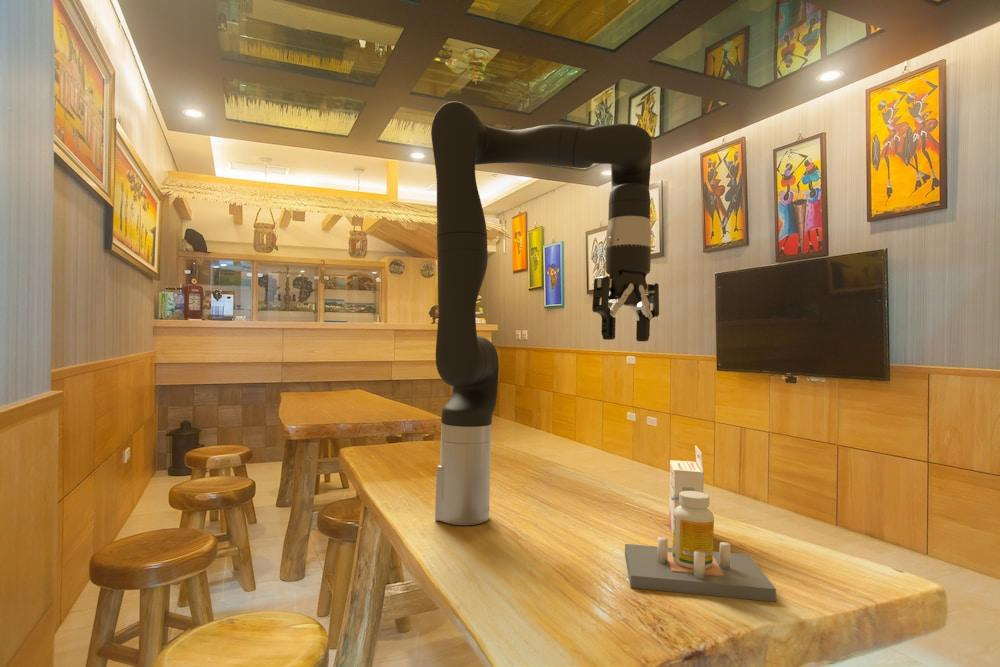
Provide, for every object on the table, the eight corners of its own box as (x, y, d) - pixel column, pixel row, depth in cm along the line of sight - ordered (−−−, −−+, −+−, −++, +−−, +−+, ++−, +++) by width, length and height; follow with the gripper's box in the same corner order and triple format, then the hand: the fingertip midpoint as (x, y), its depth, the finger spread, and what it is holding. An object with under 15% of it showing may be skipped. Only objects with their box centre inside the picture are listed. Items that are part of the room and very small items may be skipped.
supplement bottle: (664, 557, 79) (666, 490, 79) (695, 554, 81) (696, 488, 81) (689, 572, 74) (691, 500, 74) (721, 568, 75) (723, 498, 76)
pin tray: (630, 587, 73) (631, 551, 73) (624, 554, 84) (625, 522, 85) (775, 601, 70) (776, 563, 70) (748, 565, 82) (749, 532, 82)
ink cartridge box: (667, 523, 100) (669, 443, 101) (695, 526, 99) (697, 444, 100) (672, 539, 92) (674, 451, 92) (703, 542, 91) (705, 453, 91)
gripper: (616, 237, 87) (613, 339, 87) (672, 249, 96) (670, 342, 95) (583, 244, 93) (580, 339, 93) (638, 254, 102) (636, 341, 101)
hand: (626, 340), depth 94 cm, fingers open, 8 cm apart
